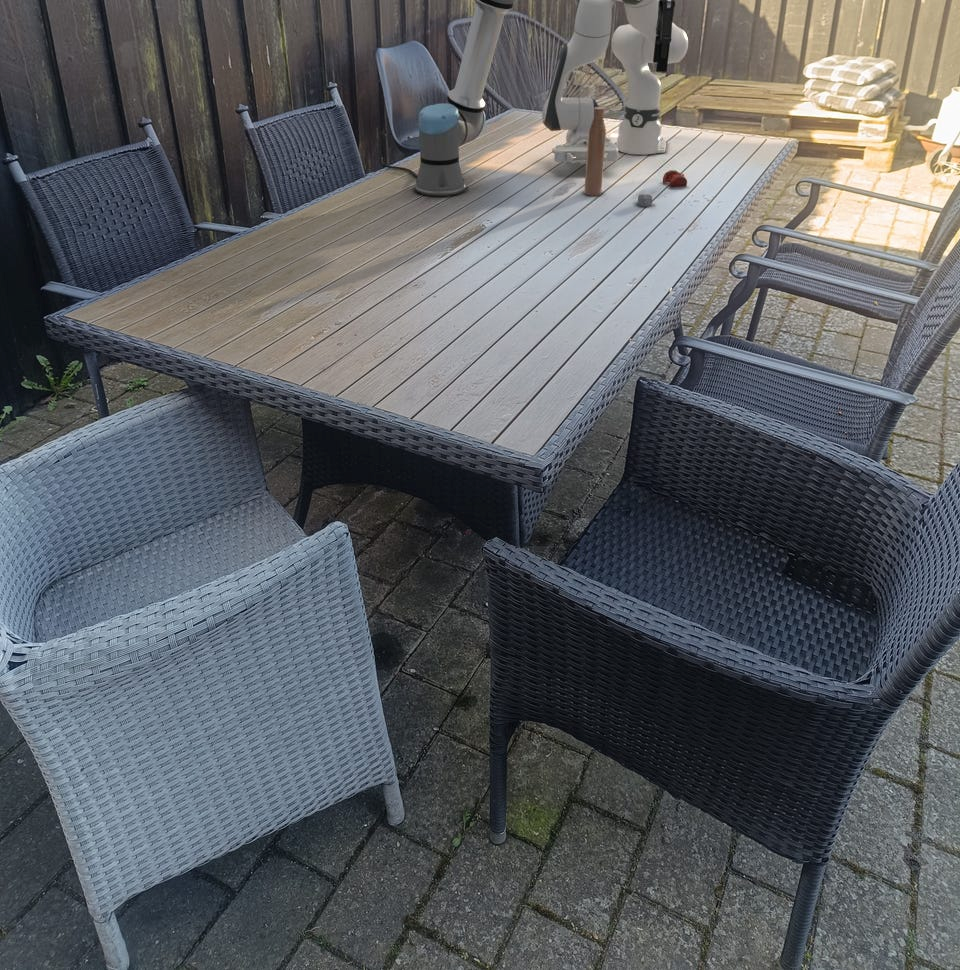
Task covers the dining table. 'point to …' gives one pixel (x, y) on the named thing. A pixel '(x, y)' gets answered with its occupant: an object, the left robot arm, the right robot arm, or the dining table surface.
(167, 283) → the dining table surface
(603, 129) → the bottle
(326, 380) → the dining table surface
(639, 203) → the cap
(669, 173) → the dental model
